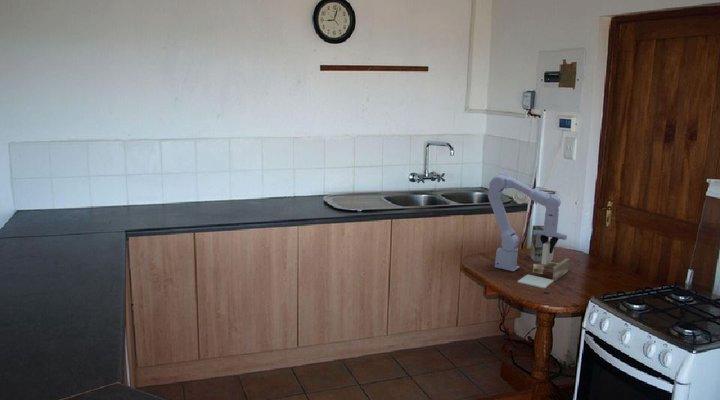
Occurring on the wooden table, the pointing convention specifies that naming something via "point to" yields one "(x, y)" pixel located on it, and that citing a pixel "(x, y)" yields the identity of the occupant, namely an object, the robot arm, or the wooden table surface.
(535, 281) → the mat
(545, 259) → the gray rectangular slab
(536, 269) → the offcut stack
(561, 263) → the corner fence
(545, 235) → the robot arm
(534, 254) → the coffee box
